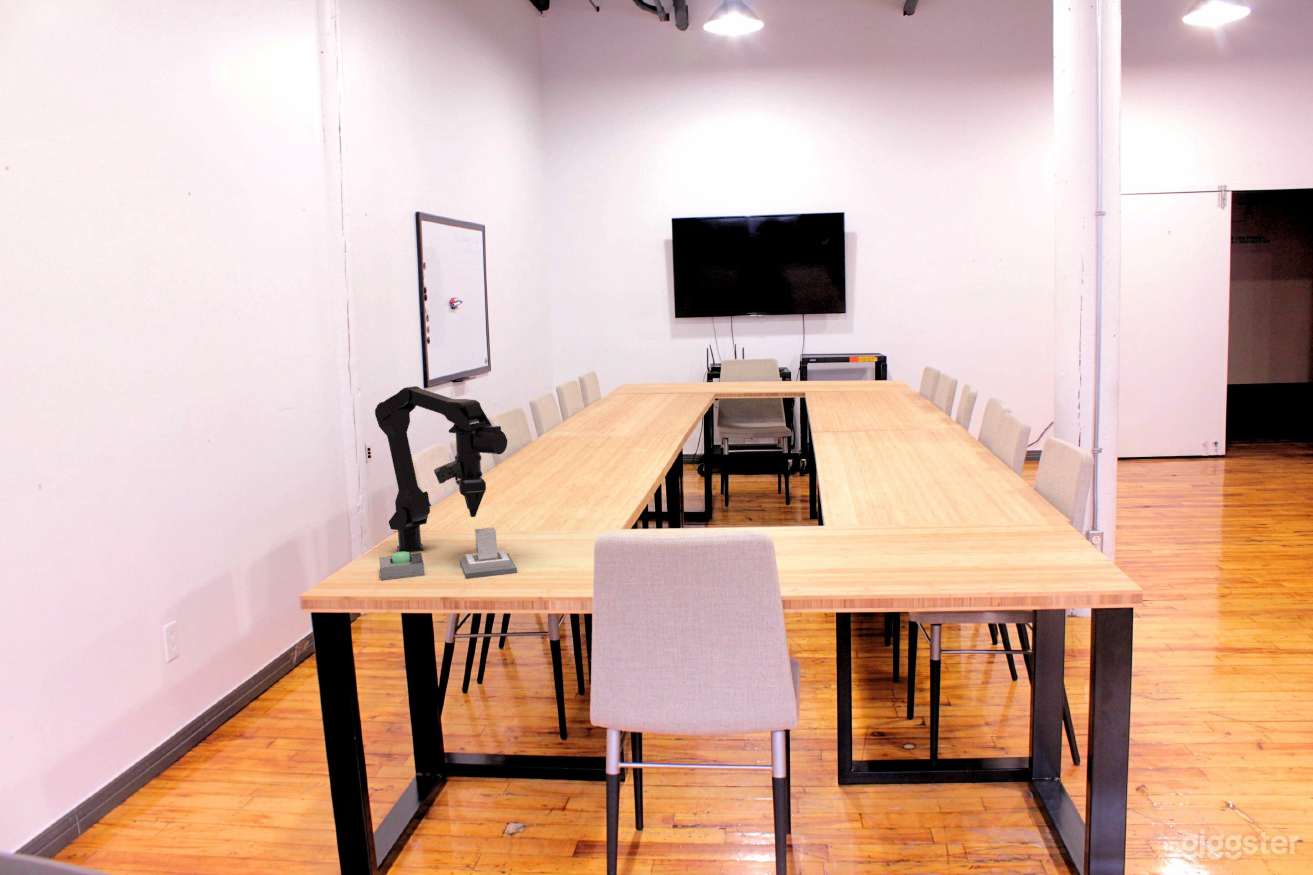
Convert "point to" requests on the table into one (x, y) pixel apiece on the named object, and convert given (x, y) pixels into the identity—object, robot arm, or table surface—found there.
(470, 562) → the grey slotted socket base
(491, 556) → the block
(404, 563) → the square peg board
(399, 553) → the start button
